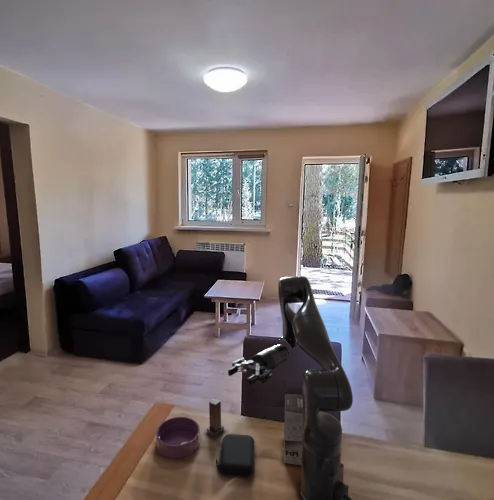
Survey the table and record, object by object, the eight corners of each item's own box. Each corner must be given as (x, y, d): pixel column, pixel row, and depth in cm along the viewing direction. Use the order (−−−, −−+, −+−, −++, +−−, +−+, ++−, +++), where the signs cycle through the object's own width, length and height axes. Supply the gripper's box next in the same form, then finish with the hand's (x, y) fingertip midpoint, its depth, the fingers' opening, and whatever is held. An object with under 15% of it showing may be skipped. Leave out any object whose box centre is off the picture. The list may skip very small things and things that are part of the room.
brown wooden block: (216, 427, 110) (216, 396, 108) (223, 431, 108) (223, 400, 106) (207, 434, 107) (206, 402, 105) (214, 439, 104) (213, 406, 103)
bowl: (208, 443, 103) (208, 429, 102) (175, 467, 94) (174, 453, 93) (181, 423, 112) (181, 411, 111) (148, 444, 102) (147, 431, 102)
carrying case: (220, 439, 104) (213, 478, 90) (219, 430, 104) (213, 468, 89) (254, 441, 103) (253, 481, 89) (254, 432, 103) (253, 471, 88)
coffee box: (307, 466, 93) (308, 413, 91) (283, 463, 95) (284, 411, 92) (305, 443, 102) (307, 394, 100) (284, 440, 103) (285, 392, 101)
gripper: (251, 345, 128) (222, 360, 117) (283, 357, 119) (254, 374, 107) (251, 364, 130) (222, 380, 118) (283, 377, 120) (254, 396, 108)
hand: (238, 377), depth 113 cm, fingers open, 8 cm apart
